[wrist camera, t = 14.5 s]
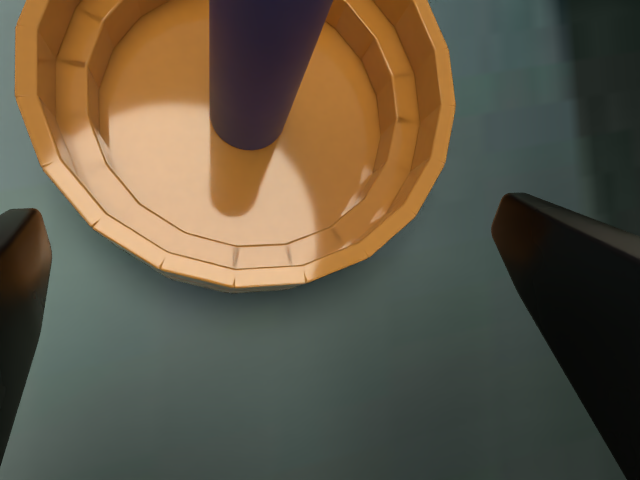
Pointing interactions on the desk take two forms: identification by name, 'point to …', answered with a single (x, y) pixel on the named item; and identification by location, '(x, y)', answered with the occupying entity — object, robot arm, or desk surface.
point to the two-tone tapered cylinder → (259, 64)
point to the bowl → (223, 159)
